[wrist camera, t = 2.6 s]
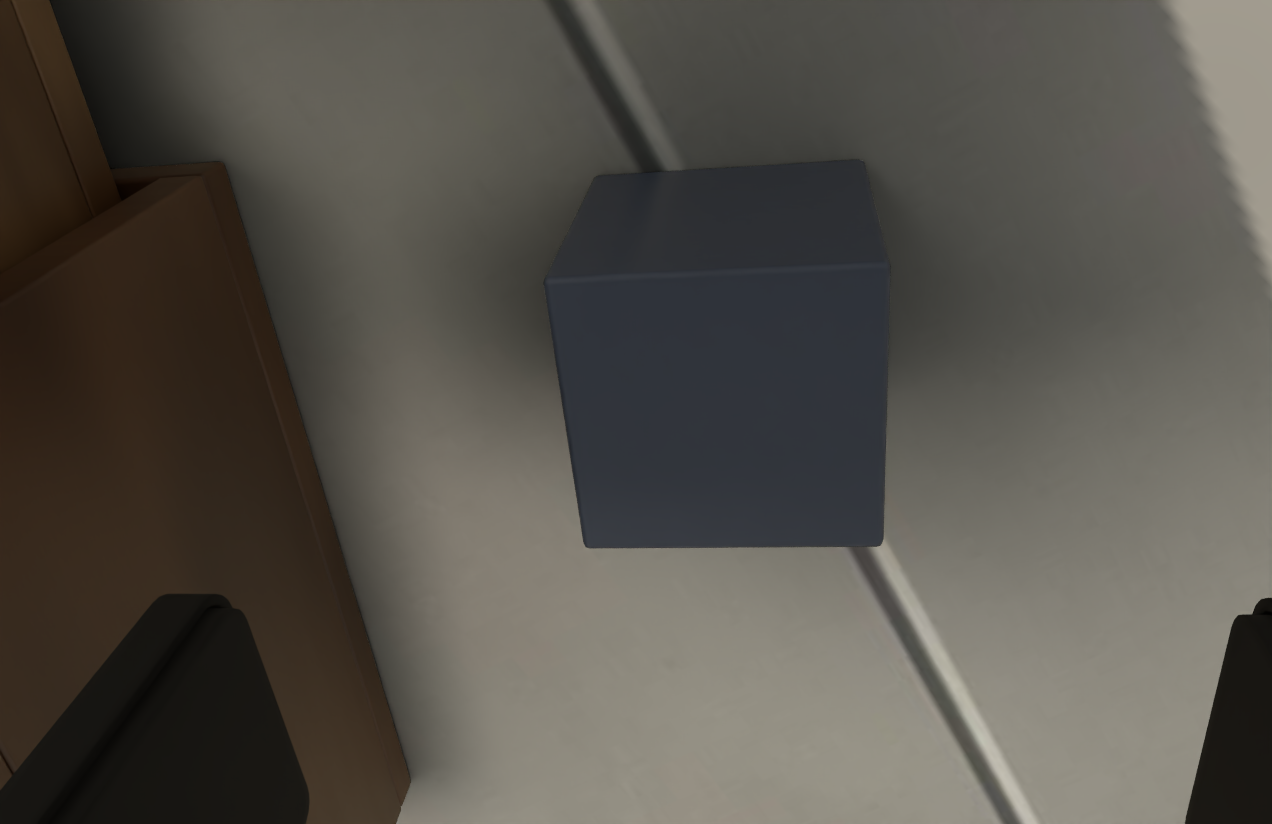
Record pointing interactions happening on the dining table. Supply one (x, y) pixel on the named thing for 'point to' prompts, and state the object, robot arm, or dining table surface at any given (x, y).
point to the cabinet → (172, 482)
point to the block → (725, 357)
